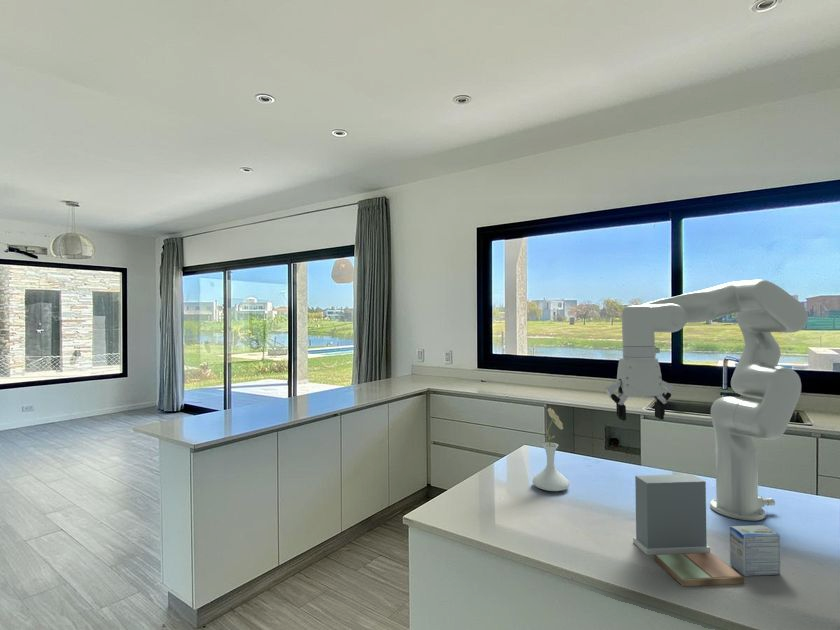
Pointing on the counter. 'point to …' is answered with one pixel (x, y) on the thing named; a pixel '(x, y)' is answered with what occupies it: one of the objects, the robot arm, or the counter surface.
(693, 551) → the cabinet
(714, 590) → the counter surface
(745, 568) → the medicine box
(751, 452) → the robot arm
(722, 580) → the board
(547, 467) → the flower in vase
